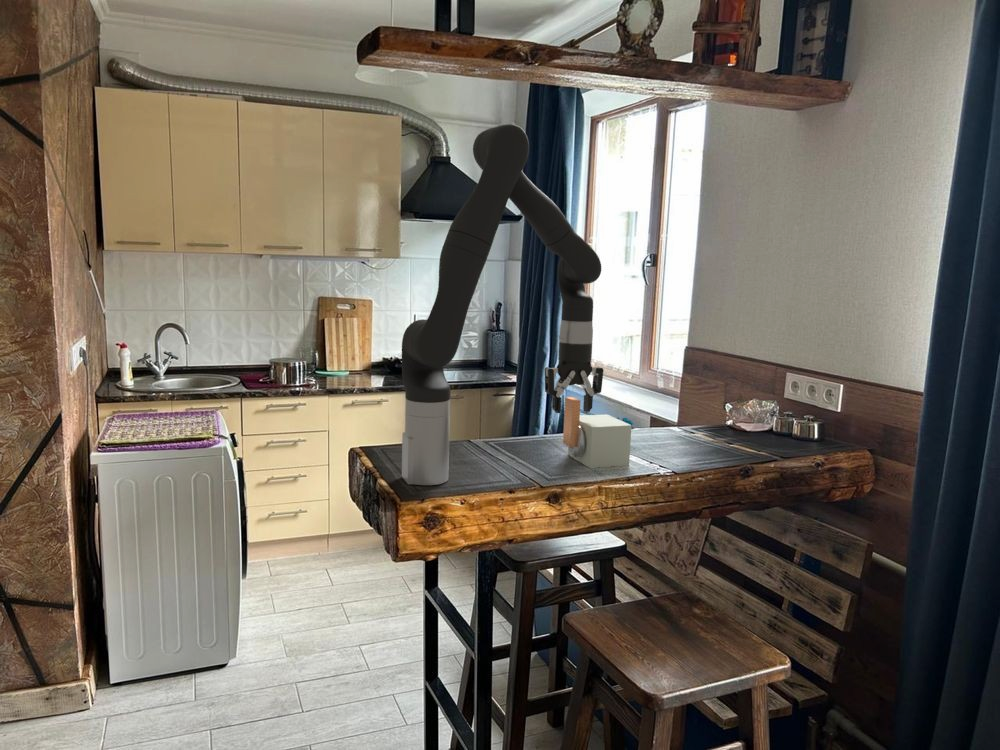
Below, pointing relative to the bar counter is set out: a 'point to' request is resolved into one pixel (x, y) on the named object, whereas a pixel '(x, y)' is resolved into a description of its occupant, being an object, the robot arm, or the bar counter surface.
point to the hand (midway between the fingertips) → (572, 411)
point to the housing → (605, 441)
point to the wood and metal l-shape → (573, 427)
